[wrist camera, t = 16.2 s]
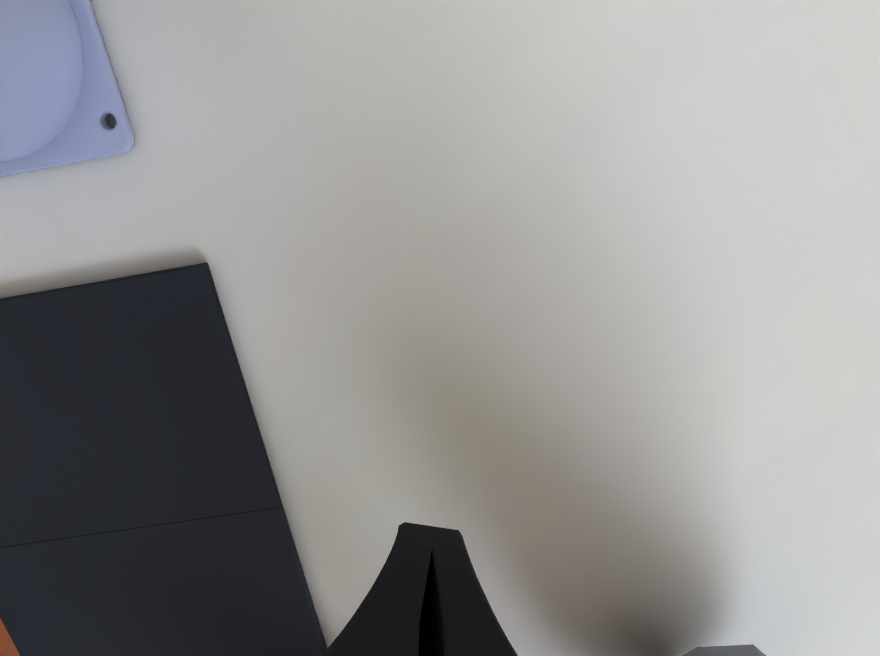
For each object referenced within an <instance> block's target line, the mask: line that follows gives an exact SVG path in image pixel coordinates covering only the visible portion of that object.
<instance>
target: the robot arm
mask: <svg viewBox="0 0 880 656" xmlns="http://www.w3.org/2000/svg"><path fill="white" fill-rule="evenodd" d="M108 114H112V115H113V116H114V117H115V119H116V126H115V128H113V129H112V128H110V127H109V126H108V124H107V122H106V117H107V115H108ZM134 141H135V140H134V134H133V131H132V128H131V125H130V122H129V119H128V116H127V113H126V109H125V106H124V103H123V100H122V97H121V94H120V91H119V88H118V85H117V82H116V79H115V76H114V73H113V70H112V67H111V64H110V61H109V58H108V54H107V51H106V48H105V45H104V42H103V39H102V36H101V33H100V30H99V27H98V24H97V21H96V18H95V15H94V12H93V9H92V6H91V3H90V0H0V177H2V176H7V175H13V174H18V173H23V172H28V171H34V170H39V169H44V168H49V167H55V166H60V165H65V164H70V163H76V162H81V161H86V160H91V159H96V158H102V157H107V156H112V155H117V154H123V153H126V152H128V151H130V150H131V149H132V147H133V145H134ZM322 656H518V655H517V654H516V652H515V651H514V649H513V647H512V645H511V644H510V642H509V640H508V639H507V637H506V635H505V633H504V631H503V630H502V628H501V626H500V624H499V622H498V620H497V618H496V616H495V614H494V613H493V611H492V609H491V607H490V604H489V602H488V600H487V598H486V596H485V594H484V592H483V589H482V587H481V585H480V583H479V580H478V578H477V576H476V573H475V571H474V568H473V566H472V563H471V561H470V558H469V555H468V552H467V550H466V546H465V543H464V540H463V536H462V534H461V533H460V532H459V530H453V529H446V528H440V527H433V526H426V525H419V524H413V523H406V522H404V523H403V524H401V525H399V528H398V533H397V536H396V539H395V542H394V545H393V547H392V550H391V552H390V554H389V556H388V558H387V561H386V563H385V564H384V566H383V568H382V570H381V572H380V574H379V575H378V577H377V579H376V581H375V583H374V584H373V586H372V588H371V589H370V591H369V593H368V594H367V596H366V597H365V599H364V600H363V602H362V603H361V605H360V606H359V608H358V609H357V611H356V612H355V614H354V615H353V617H352V618H351V619H350V621H349V622H348V624H347V625H346V626H345V628H344V629H343V630H342V632H341V633H340V634H339V635H338V637H337V638H336V639H335V640H334V642H333V643H332V644H331V645H330V647H329V648H328V649H327V650H326V651H325V652H324V654H323V655H322Z"/></svg>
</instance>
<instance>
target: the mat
mask: <svg viewBox="0 0 880 656" xmlns="http://www.w3.org/2000/svg"><path fill="white" fill-rule="evenodd" d="M326 650H327V648H326V644H325V641H324V638H323V635H322V631H321V628H320V625H319V622H318V618H317V615H316V612H315V609H314V606H313V602H312V599H311V596H310V593H309V589H308V586H307V583H306V580H305V576H304V573H303V570H302V567H301V564H300V560H299V557H298V554H297V551H296V547H295V544H294V541H293V538H292V534H291V531H290V528H289V525H288V521H287V518H286V515H285V512H284V509H283V505H282V503H281V499H280V496H279V492H278V489H277V486H276V483H275V479H274V476H273V473H272V470H271V467H270V463H269V460H268V457H267V454H266V450H265V447H264V444H263V441H262V437H261V434H260V431H259V428H258V425H257V421H256V418H255V415H254V412H253V408H252V405H251V402H250V399H249V395H248V392H247V389H246V386H245V383H244V379H243V376H242V373H241V370H240V366H239V363H238V360H237V357H236V353H235V350H234V347H233V344H232V341H231V337H230V334H229V331H228V328H227V324H226V321H225V318H224V315H223V311H222V308H221V305H220V302H219V299H218V295H217V292H216V289H215V286H214V282H213V279H212V276H211V273H210V269H209V266H208V263H203V264H197V265H191V266H185V267H180V268H174V269H168V270H162V271H157V272H151V273H145V274H140V275H134V276H128V277H122V278H117V279H111V280H105V281H100V282H94V283H88V284H82V285H77V286H71V287H65V288H60V289H54V290H48V291H42V292H37V293H31V294H25V295H19V296H14V297H8V298H2V299H0V656H322V655H323V654H324V652H325V651H326Z"/></svg>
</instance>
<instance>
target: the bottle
mask: <svg viewBox="0 0 880 656" xmlns="http://www.w3.org/2000/svg"><path fill="white" fill-rule="evenodd" d="M682 656H766V655H765V654H763V653H762V652H761V651H760V650H759V649H758V648H756V647H755V646H754V645H733V646H710V647H697V648H695V649H693V650H691V651H689V652H687V653H686V654H684V655H682Z"/></svg>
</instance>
